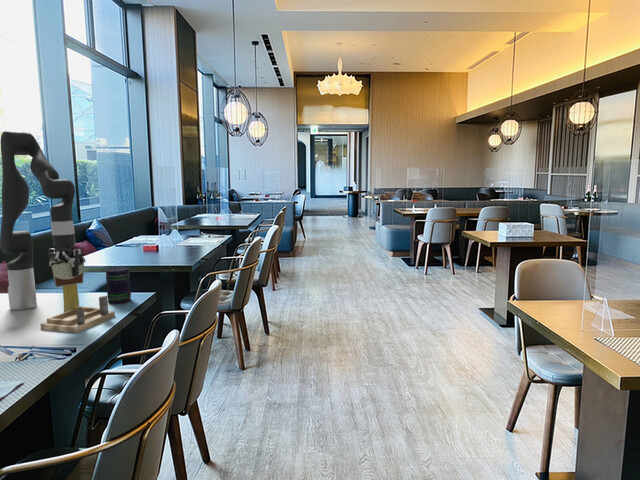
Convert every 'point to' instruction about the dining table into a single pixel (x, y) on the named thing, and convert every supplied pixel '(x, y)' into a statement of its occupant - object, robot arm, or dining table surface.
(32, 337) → the dining table surface
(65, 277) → the half lattice cake
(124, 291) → the storage jar
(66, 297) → the vase
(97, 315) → the carrier board
